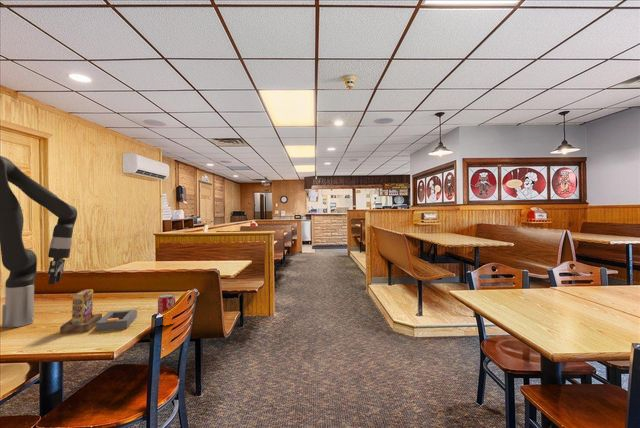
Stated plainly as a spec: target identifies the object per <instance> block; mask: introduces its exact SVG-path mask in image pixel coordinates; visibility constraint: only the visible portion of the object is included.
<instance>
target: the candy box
mask: <svg viewBox="0 0 640 428" xmlns="http://www.w3.org/2000/svg"><path fill="white" fill-rule="evenodd" d="M93 300H94V290H93V289H83V290H81V291H78V292H76V293H72V305H71V306H72V307H71V319H72V324H82V323H86V322H87V321H89V320H90V319H91V318H92V314H93V303H94V301H93Z"/></svg>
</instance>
